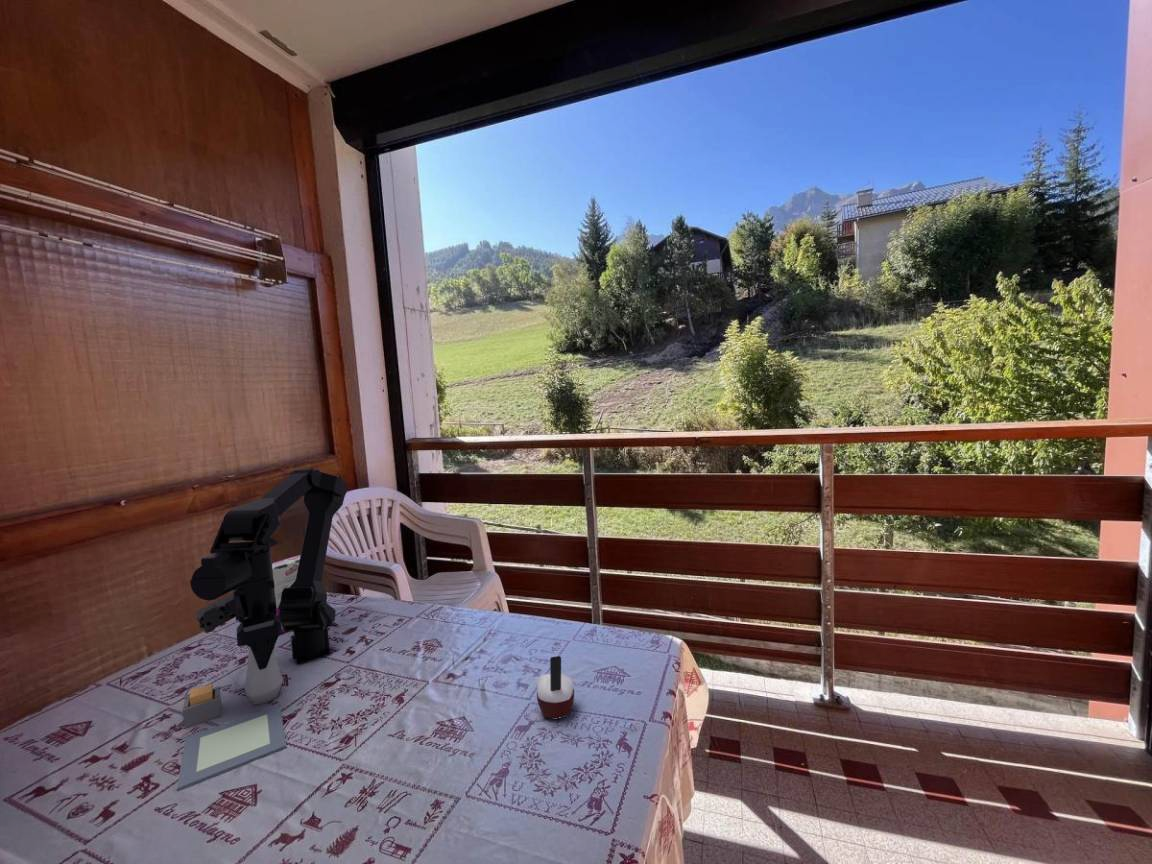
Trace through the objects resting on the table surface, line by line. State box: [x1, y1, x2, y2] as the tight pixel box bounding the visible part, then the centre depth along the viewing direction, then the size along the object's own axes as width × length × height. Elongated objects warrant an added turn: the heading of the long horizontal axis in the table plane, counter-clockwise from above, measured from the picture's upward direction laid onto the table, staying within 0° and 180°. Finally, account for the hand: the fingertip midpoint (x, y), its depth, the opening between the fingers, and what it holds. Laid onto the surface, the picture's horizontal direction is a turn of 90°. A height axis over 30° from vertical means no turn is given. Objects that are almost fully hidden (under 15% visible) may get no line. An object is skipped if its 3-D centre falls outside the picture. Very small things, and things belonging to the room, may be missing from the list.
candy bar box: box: [272, 554, 301, 636], centre depth 116 cm, size 11×5×16 cm, turn 147°
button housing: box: [182, 685, 222, 730], centre depth 82 cm, size 5×5×3 cm
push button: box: [189, 683, 214, 706], centre depth 82 cm, size 3×3×3 cm
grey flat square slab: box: [176, 704, 287, 791], centre depth 75 cm, size 13×13×1 cm
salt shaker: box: [244, 647, 284, 705], centre depth 86 cm, size 6×6×13 cm
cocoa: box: [536, 655, 575, 719], centre depth 78 cm, size 10×6×12 cm, turn 167°
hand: (262, 660), depth 86 cm, fingers open, 7 cm apart
